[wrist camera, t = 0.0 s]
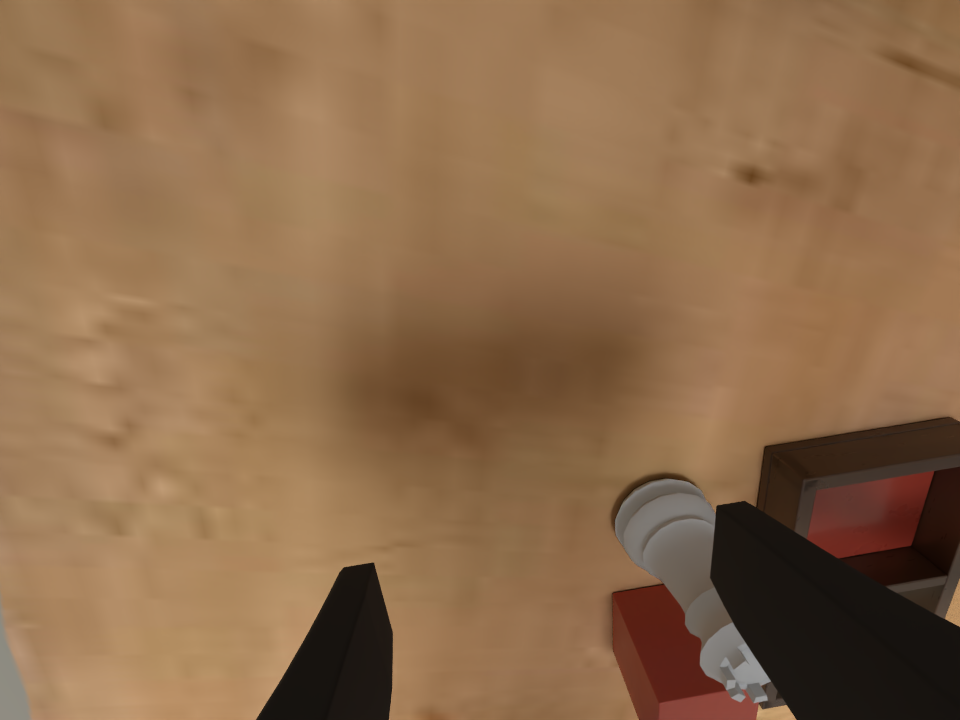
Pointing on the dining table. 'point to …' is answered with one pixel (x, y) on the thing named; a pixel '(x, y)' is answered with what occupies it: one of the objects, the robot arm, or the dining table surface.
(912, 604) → the robot arm
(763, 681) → the rook chess piece
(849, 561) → the tray
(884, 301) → the dining table surface
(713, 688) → the brick-red block
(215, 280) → the dining table surface
